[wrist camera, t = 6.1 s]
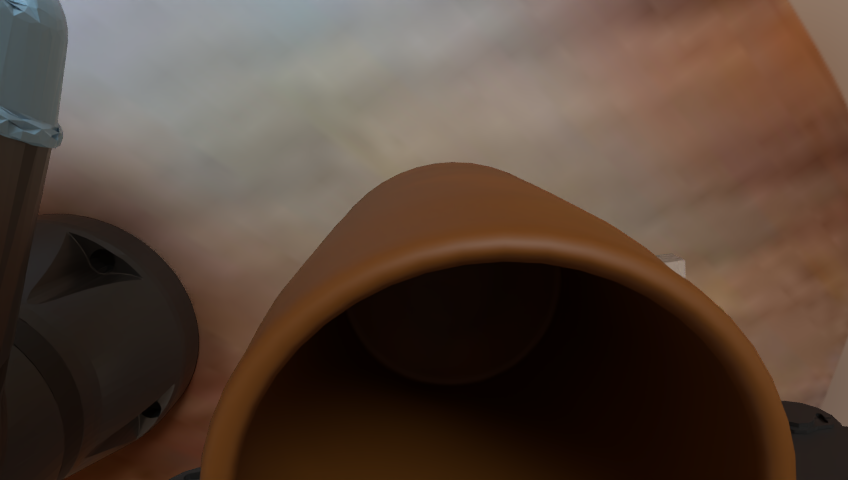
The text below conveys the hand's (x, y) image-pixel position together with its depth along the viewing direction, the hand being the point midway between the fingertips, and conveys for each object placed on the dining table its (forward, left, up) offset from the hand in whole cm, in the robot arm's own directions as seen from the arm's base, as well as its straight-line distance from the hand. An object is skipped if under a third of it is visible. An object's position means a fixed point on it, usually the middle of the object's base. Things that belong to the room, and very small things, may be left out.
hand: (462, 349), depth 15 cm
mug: (-1, 0, 0) cm, 1 cm away
